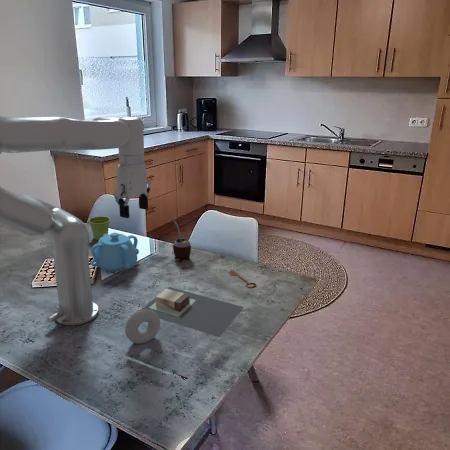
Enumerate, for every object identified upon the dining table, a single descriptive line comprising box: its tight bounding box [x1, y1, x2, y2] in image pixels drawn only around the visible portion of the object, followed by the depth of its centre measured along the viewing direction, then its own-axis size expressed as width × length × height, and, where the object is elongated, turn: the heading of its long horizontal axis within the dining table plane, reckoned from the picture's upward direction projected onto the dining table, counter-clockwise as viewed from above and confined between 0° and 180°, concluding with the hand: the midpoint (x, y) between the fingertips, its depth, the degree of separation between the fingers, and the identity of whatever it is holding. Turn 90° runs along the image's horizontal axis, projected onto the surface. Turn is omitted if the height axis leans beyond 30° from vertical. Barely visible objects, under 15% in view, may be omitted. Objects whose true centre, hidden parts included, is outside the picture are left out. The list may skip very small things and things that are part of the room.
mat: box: [140, 286, 245, 338], centre depth 129 cm, size 18×28×1 cm, turn 65°
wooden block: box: [155, 288, 190, 312], centre depth 131 cm, size 9×6×3 cm
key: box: [227, 269, 257, 289], centre depth 150 cm, size 6×1×15 cm
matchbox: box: [172, 372, 189, 381], centre depth 100 cm, size 5×5×1 cm
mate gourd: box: [172, 219, 192, 263], centre depth 163 cm, size 8×8×15 cm
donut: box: [124, 308, 161, 345], centre depth 112 cm, size 10×4×10 cm, turn 125°
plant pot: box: [87, 215, 111, 241], centre depth 182 cm, size 9×9×9 cm
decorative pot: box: [90, 232, 140, 275], centre depth 154 cm, size 16×16×14 cm
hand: (134, 213), depth 129 cm, fingers open, 9 cm apart
